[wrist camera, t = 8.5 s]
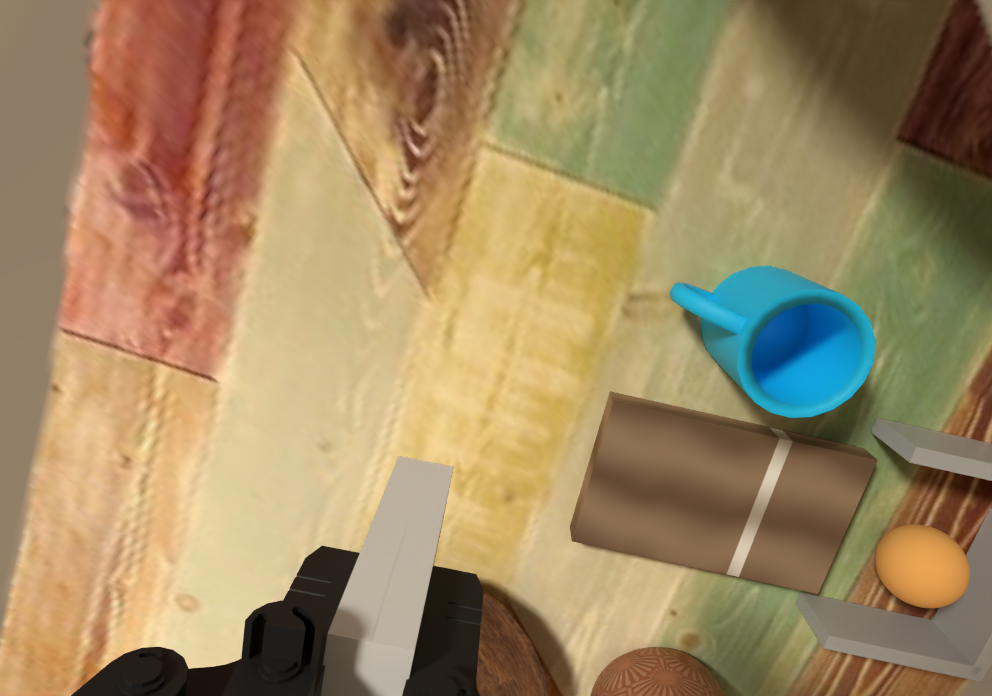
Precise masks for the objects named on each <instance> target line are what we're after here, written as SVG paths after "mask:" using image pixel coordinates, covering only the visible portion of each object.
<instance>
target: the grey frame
mask: <svg viewBox="0 0 992 696" xmlns="http://www.w3.org/2000/svg"><path fill="white" fill-rule="evenodd" d="M871 433H873V434H874V435H875V436H877V437H878V438H879V439H880V440H882V441H883V442H884V443H885V444H887V445H888V446H889V447H890V448H892V449H893V450H894V451H896V452H897V453H898V454H899V455H901V456H902V457H903V458H904V459H906V460H907V461H908V462H910V463H914V464H919V465H923V466H928V467H932V468H936V469H941V470H945V471H950V472H954V473H959V474H963V475H968V476H972V477H977V478H981V479H986V480H990V481H992V444H991V443H987V442H983V441H978V440H974V439H969V438H965V437H960V436H956V435H952V434H947V433H943V432H938V431H934V430H929V429H925V428H920V427H916V426H912V425H907V424H903V423H898V422H894V421H889V420H885V419H880V418H877V419H876V421H875V423H874V426H873V428H872V430H871ZM966 558H967V560H968V563H969V567H970V581H969V585H968V587H967V589H966V591H965V593H964V594H963V595H962V596H961V597H960V598H959V599H958V600H957V601H955V602H954V603H952V604H950V605H947V606H944V607H940V608H938V610H937V612H936V614H935V616H934V618H933V620H929V619H924V618H920V617H915V616H910V615H906V614H901V613H896V612H892V611H887V610H883V609H878V608H873V607H869V606H864V605H859V604H855V603H850V602H845V601H841V600H836V599H831V598H827V597H822V596H817V595H813V594H808V593H803V592H801V593H800V595H799V597H798V600H797V602H796V605H797V607H798V608H799V610H800V612H801V613H802V615H803V616H804V618H805V620H806V621H807V623H808V625H809V626H810V628H811V629H812V631H813V633H814V634H815V636H816V637H817V639H818V641H819V642H820V644H821V646H822V647H823V648H824V649H829V650H833V651H838V652H843V653H847V654H852V655H857V656H862V657H866V658H871V659H876V660H880V661H885V662H890V663H894V664H899V665H904V666H909V667H913V668H918V669H923V670H927V671H932V672H937V673H942V674H946V675H951V676H956V677H960V678H965V679H970V680H975V681H980V682H982V680H983V678H984V677H985V675H986V673H987V671H988V669H989V667H990V666H991V664H992V506H991V508H990V510H989V512H988V514H987V516H986V518H985V520H984V522H983V524H982V525H981V527H980V529H979V531H978V533H977V535H976V537H975V539H974V541H973V543H972V545H971V547H970V549H969V551H968V552H967V554H966Z"/></svg>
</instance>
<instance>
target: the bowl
mask: <svg viewBox="0 0 992 696" xmlns="http://www.w3.org/2000/svg"><path fill="white" fill-rule="evenodd" d="M483 591H484V590H483ZM476 680H477V689H478V692H479V694H480V696H548V686H547V677H546V674H545V672H544V670H543V667H542V665H541V663H540V660H539V658H538V656H537V653H536V651H535V649H534V646H533V644H532V642H531V640H530V639H529V638H528V636H527V635H526V634H525V632H524V631H523V630H522V628H521V627H520V626H519V624H518V623H517V622H516V620H515V619H514V618H513V616H512V615H511V614H510V612H509V611H508V610H507V608H506V607H505V606H504V604H502V603H501V602H499V601H498V600H497V599H495V598H494V597H492V596H491V595H489V594H488V593H487V592H485V591H484V594H483V606H482V618H481V629H480V641H479V653H478V665H477V676H476Z"/></svg>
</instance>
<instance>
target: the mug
mask: <svg viewBox="0 0 992 696" xmlns="http://www.w3.org/2000/svg"><path fill="white" fill-rule="evenodd" d="M670 297H671V299H672V301H674V302H675V303H677V304H678V305H679V306H681V307H683V308H684V309H686V310H688V311H689V312H691V313H693V314H695V315H697V316H699V317H701V335H702V338H703V341H704V344H705V347H706V350H707V351H708V352H709V353H710V355H711V356H712V357H713V359H714V360H715V361H716V362H717V363H718V364H719V365H720V366H721V368H722V369H723V370H724V371H725V372H726V373H727V374H728V375H729V376H730V377H731V378H732V379H733V380H734V381H735V382H736V383H737V384H738V385H739V387H740V388H741V389H742V390H743V391H744V392H745V393H746V394H747V395H748V396H749V397H750V398H751V399H752V400H753V401H754V402H755V403H756V404H758V405H759V406H761V407H762V408H764V409H766V410H767V411H769V412H770V413H773V414H777V415H781V416H785V417H789V418H799V417H813V416H816V415H819V414H822V413H825V412H828V411H831V410H833V409H835V408H836V407H838V406H839V405H841V404H842V403H844V402H845V401H846V400H848V399H849V398H851V397H852V396H853V394H854V393H855V392H856V391H857V390H858V389H859V387H860V386H861V385H862V384H863V383H864V382H865V380H866V378H867V375H868V373H869V371H870V369H871V366H872V364H873V362H874V353H875V343H876V341H875V337H874V333H873V329H872V325H871V322H870V320H869V319H868V317H867V316H866V315H865V313H864V312H863V310H862V309H861V308H860V306H859V305H857V304H856V303H854V302H853V301H851V300H850V299H848V298H847V297H845V296H844V295H842V294H840V293H838V292H835V291H833V290H831V289H828V288H826V287H824V286H822V285H819V284H817V283H815V282H812V281H810V280H808V279H805V278H803V277H801V276H799V275H796V274H794V273H792V272H789V271H787V270H784V269H780V268H776V267H772V266H760V267H750V268H747V269H745V270H742V271H739V272H737V273H734V274H732V275H731V276H730V277H728V278H727V279H726V280H724V281H723V282H722V283H720V284H719V285H718V286H717V287H716V289H715V290H714V291H713V293H710V292H707V291H705V290H702V289H700V288H697V287H695V286H692V285H689V284H685V283H676V284H674V285H673V286H672V288H671V290H670Z"/></svg>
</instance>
